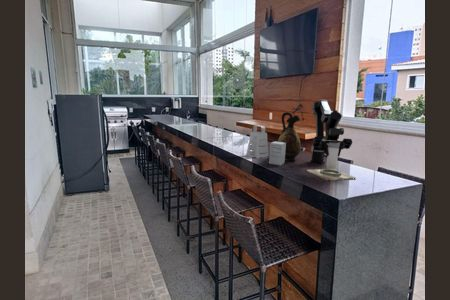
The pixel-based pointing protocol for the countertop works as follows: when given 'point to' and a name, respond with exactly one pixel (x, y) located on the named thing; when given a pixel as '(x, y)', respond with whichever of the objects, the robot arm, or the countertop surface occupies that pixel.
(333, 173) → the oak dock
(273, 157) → the supplement box
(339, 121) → the robot arm
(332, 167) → the cylinder
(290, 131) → the ceramic jug
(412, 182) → the countertop surface
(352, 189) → the countertop surface
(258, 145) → the grater
